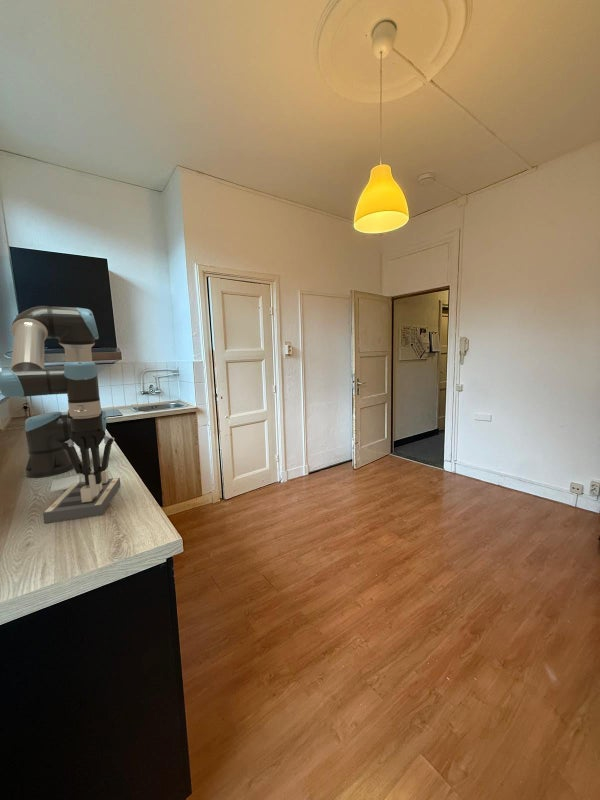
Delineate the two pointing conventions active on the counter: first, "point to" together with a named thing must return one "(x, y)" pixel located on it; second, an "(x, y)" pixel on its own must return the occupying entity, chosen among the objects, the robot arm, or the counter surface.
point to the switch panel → (72, 503)
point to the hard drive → (63, 483)
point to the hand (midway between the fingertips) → (95, 494)
